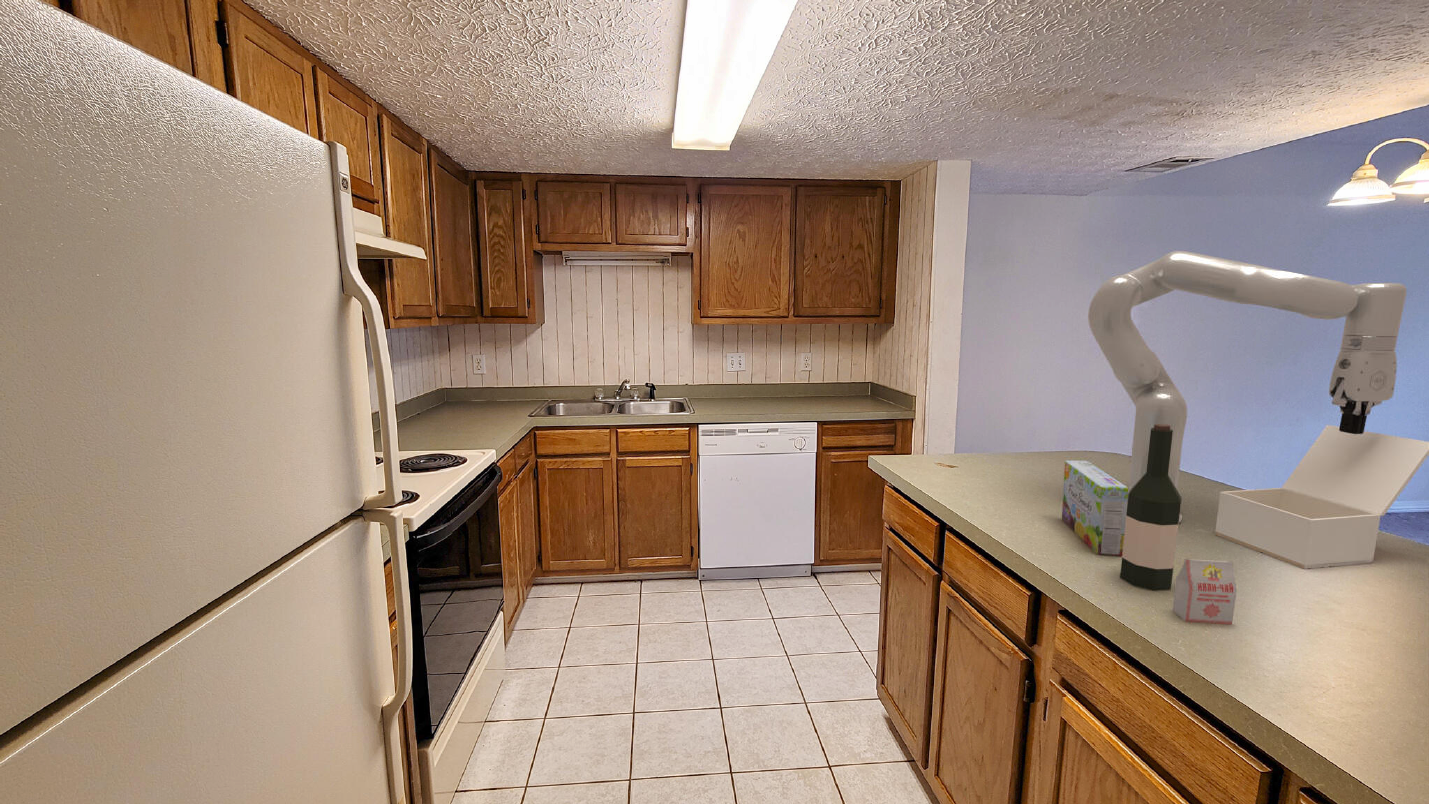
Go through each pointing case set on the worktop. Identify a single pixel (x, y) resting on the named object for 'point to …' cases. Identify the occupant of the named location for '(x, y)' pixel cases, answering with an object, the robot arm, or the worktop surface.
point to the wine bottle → (1152, 519)
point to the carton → (1298, 527)
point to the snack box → (1095, 507)
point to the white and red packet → (1205, 591)
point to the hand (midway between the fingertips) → (1350, 432)
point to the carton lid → (1358, 468)
